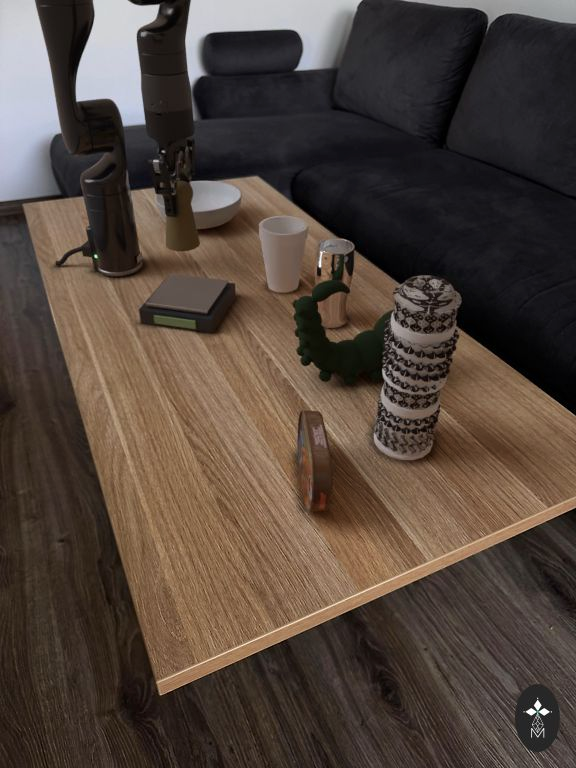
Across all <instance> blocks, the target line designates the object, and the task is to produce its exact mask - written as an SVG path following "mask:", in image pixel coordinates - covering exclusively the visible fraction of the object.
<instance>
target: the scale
mask: <svg viewBox="0 0 576 768" xmlns="http://www.w3.org/2000/svg"><path fill="white" fill-rule="evenodd" d="M169 275H170V274H168V275H167V276H166V278H167V277H168V276H169ZM166 278H164V280H163V281H162V282H161V283H160V285H161V284H162V283H163V282H164V281H165V280H166ZM228 283H229V284H228V286H227V287H226V288H225V290H224V291H223V293H222V294H221V296H220V297H219V299H218V300H217V302H216V303H215V305H214V306H213V308H212V309H211V311H210V312H209V314H208V315H206V314H199V313H192V312H184V311H177V310H170V309H162V308H155V307H147V306H146V301H145V302H144V303H143V304H142V305H141V306H140V307H139V309H138V312H139V313H138V314H139V318H140V319H139V320H140V324H143V325H144V324H145V325H150V326H158V327H165V328H170V329H178V330H184V331H185V330H186V331H192V332H199V333H207V334H213V333H214V332H215V330H216V329H217V327H218V326H219V324H220V322H221V321H222V319H223V317H224V316H225V315H226V313H227V311H228V310H229V309H230V306H231V305H232V304H233V302H234V300H235V299H236V298H237V296H236V295H237V293H236V283H235V282H228ZM158 288H159V286H158V287H157V288H156V289H155V290H154V291H153V293H154V292H155V291H156V290H157V289H158ZM153 293H152V294H151V295H150V296H149V297H148V298H147V300H148V299H149V298H150V297H151V296H152V295H153Z"/></svg>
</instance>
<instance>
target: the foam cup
mask: <svg viewBox="0 0 576 768" xmlns="http://www.w3.org/2000/svg"><path fill="white" fill-rule="evenodd" d="M308 235H309V225H308V223H307V222H306V220H304V219H302V218H300V217H297V216H292V215H275V216H274V215H273V216H269V217H266V218H265V219H261V221H259V223H258V237H259V240H260V245H261V251H262V257H263V263H264V264H263V265H264V269H265V276H266V282H267V283H266V284H267V287H268V289H269V290H271V291H272V292H275V293H281V294H282V293H285V294H287V293H290V292H294V291H295V290H297V289H298V287H299V284H300V280H301V273H302V268H303V267H302V266H303V261H304V255H305V249H306V242H307V239H308V237H309V236H308Z"/></svg>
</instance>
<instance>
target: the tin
mask: <svg viewBox="0 0 576 768" xmlns="http://www.w3.org/2000/svg"><path fill="white" fill-rule="evenodd" d="M296 439H297V442H296V443H297V444H296V448H297V449H296V451H297V461H298V468H299V470H298V471H299V475H300V484H301V490H302V497H303V503H304V507H305V511H306V512H307V513H310V512H326V511H328V510H329V509H330V502H331V501H330V500H331V495H332V491H333V487H334V486H333V483H334V473H333V472H334V471H333V461H332V454H331V449H330V444H329V439H328V434H327V430H326V425H325V422H324V417H323V414H322V413H321V411H318V410H303V409H301V410H300V411H299V414H298V421H297V438H296Z"/></svg>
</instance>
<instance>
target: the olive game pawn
mask: <svg viewBox="0 0 576 768" xmlns="http://www.w3.org/2000/svg"><path fill="white" fill-rule="evenodd" d="M170 182H171V187H172V181H171V180H170ZM162 196H163V195H162ZM177 197H178V206H179V215H178V216H177V217H168V216H166V219H165V247H166V248H167V249H168V250H171V251H173V252H188V251H189V252H191V251H192V250H195V249H197V248H199V247H200V245H201V241H200V237H199V233H198V229H197V228H196V223H195V219H194V215H193V210H192V206H191V200H192V198H193V189H192V187H191V185H190V184H189V183H187V182H185V181H178V182H177ZM163 199H164V197H163Z"/></svg>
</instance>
